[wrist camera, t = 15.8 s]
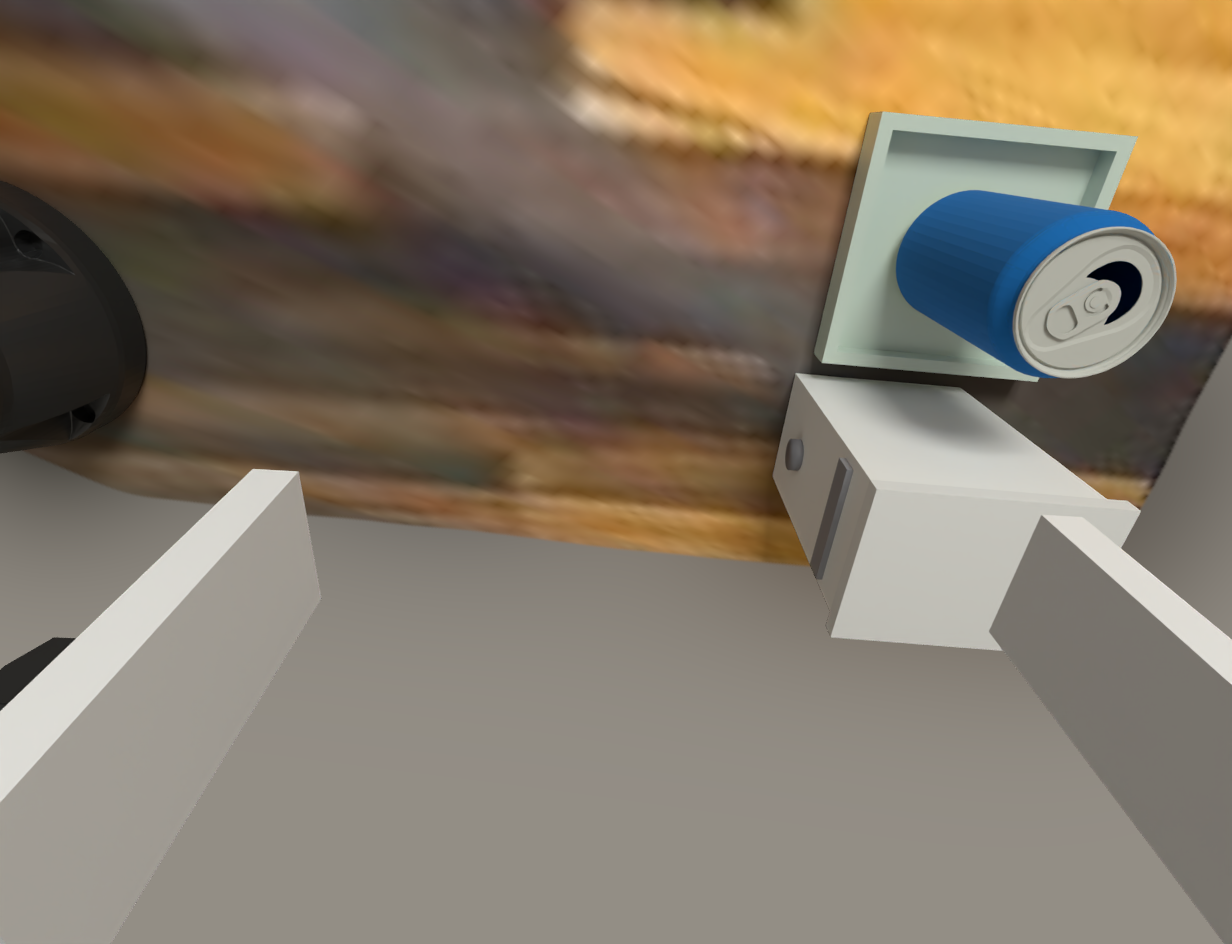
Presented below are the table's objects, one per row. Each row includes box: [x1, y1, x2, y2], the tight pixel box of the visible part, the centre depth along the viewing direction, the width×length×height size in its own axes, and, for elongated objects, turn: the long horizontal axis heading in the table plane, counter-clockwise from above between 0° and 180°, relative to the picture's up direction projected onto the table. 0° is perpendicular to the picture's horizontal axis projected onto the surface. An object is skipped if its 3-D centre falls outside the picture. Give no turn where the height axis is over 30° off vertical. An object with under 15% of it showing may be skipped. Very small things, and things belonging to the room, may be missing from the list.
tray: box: [814, 112, 1138, 382], centre depth 34 cm, size 12×12×2 cm
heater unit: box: [773, 373, 1141, 651], centre depth 34 cm, size 11×8×15 cm
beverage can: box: [896, 190, 1176, 378], centre depth 29 cm, size 6×6×12 cm
